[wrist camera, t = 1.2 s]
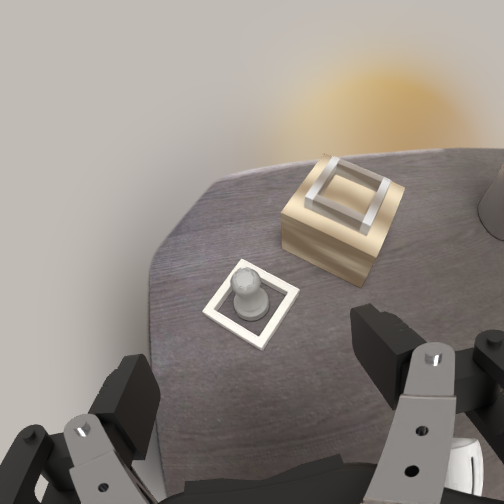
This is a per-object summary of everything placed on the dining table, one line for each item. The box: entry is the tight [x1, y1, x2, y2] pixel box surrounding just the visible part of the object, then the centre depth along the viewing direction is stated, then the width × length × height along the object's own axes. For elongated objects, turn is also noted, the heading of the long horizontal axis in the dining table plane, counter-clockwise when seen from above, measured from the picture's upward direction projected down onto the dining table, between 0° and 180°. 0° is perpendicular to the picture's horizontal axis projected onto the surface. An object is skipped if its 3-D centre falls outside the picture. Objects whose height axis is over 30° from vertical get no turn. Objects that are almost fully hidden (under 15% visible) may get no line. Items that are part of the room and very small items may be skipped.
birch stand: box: [281, 154, 405, 288], centre depth 38 cm, size 12×12×10 cm
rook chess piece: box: [230, 267, 270, 321], centre depth 35 cm, size 4×4×8 cm
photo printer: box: [444, 438, 483, 496], centre depth 19 cm, size 10×4×12 cm, turn 0°
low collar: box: [202, 259, 299, 351], centre depth 37 cm, size 9×9×2 cm
